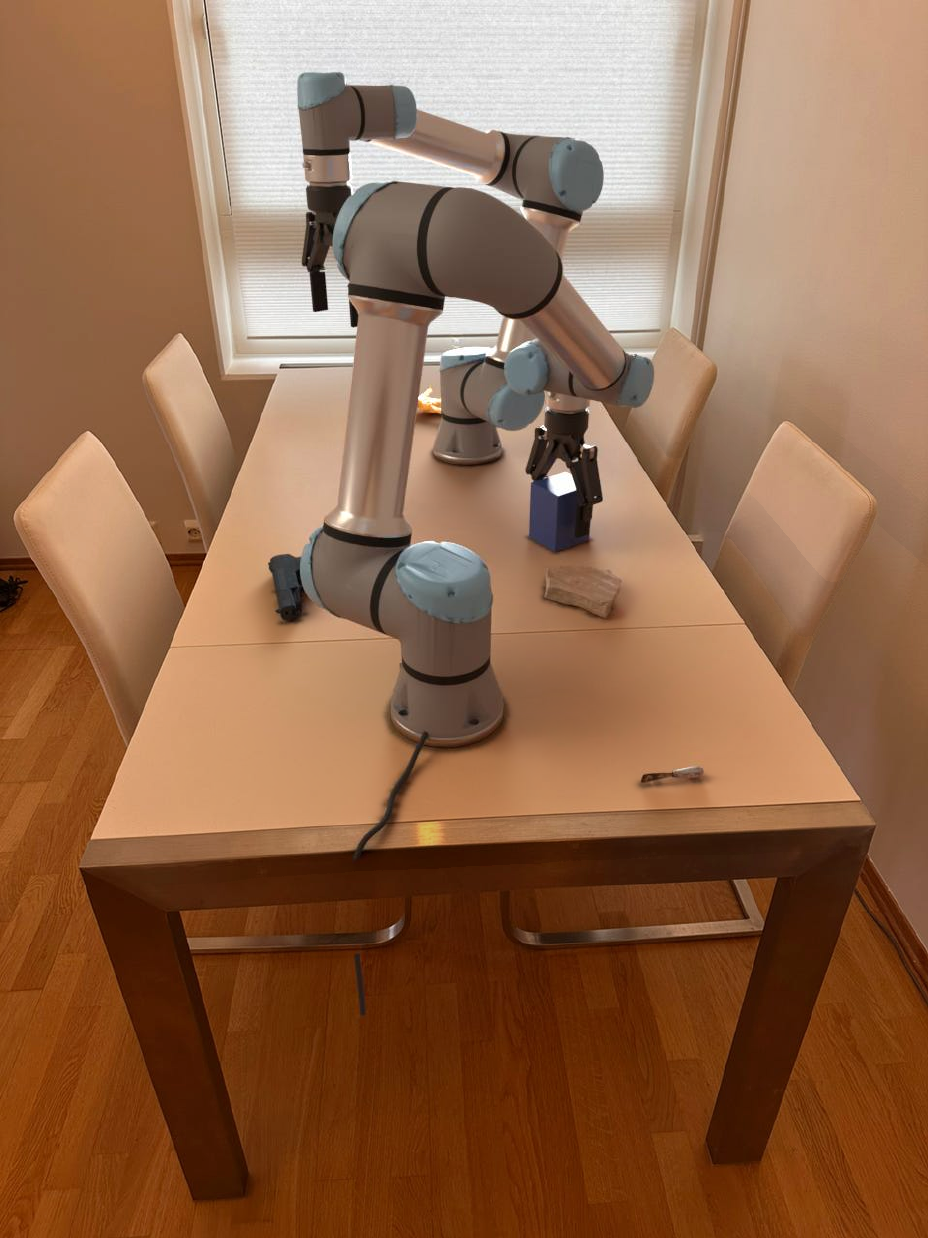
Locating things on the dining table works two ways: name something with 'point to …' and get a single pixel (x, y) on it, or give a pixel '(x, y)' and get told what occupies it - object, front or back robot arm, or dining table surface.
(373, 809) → the dining table surface
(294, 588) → the handgun
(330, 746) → the dining table surface
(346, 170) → the back robot arm
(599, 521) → the dining table surface
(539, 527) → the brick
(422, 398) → the human figure
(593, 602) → the stone
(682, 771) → the putty knife
